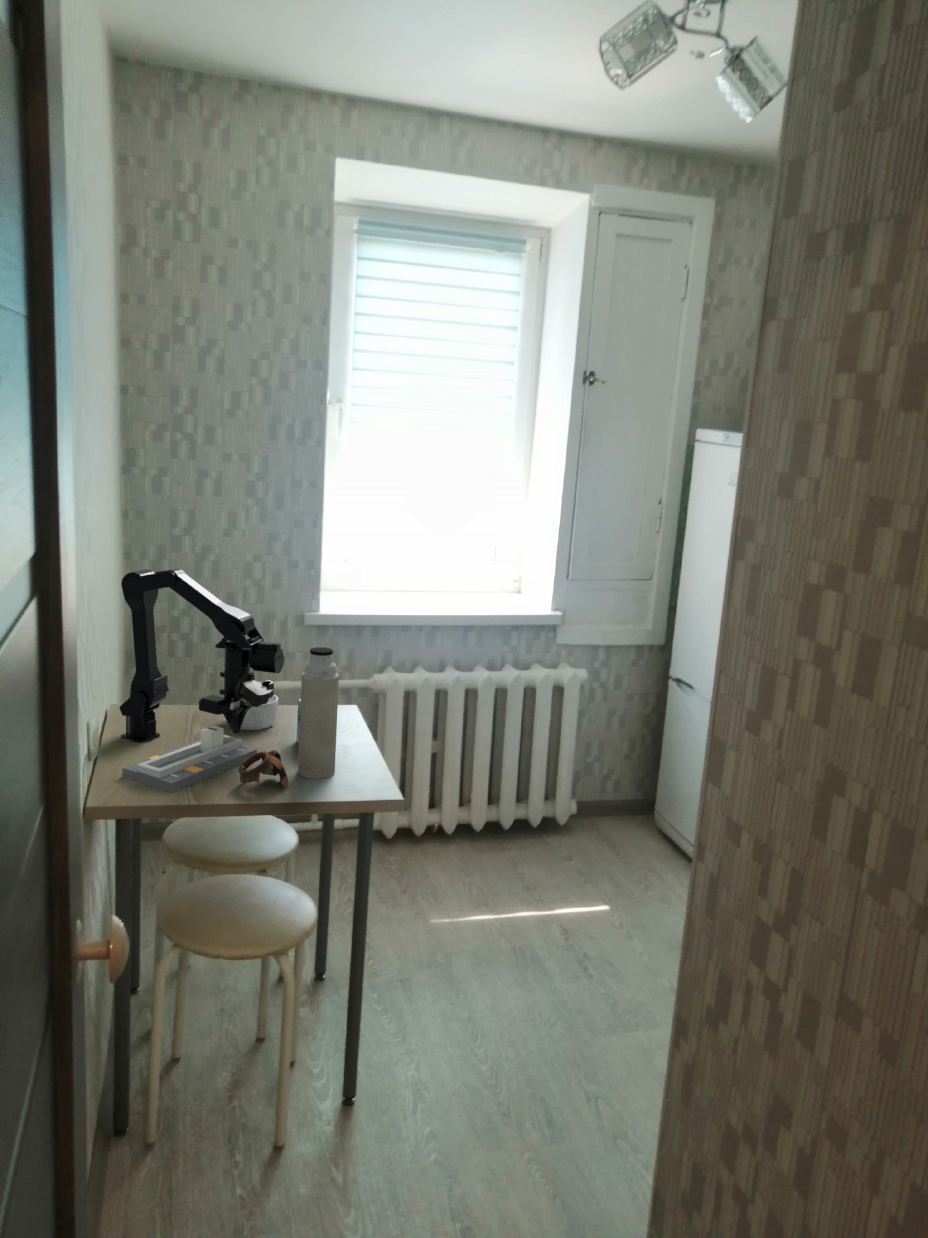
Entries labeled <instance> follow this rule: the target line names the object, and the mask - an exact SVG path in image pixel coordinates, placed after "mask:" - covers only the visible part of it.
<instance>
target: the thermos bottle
mask: <svg viewBox="0 0 928 1238" xmlns="http://www.w3.org/2000/svg"><path fill="white" fill-rule="evenodd" d="M309 653H310V655H309V661H307V662H306V663H305V664H304V671H303V672H302V673H301V684H300V685H301V686H300V688H301V689H300V690H301V694H300V699H301V707H300V734H299V743H298V763H297V764H298V766H297V769H298V770H297V772H298V774H299V775H300V776H301V777H304V778H307V779H315V780H316V779H326V778H329V777H332V776H334V774H335V772H336V754H337V753H336V749H337V732H338V731H337V729H338V728H337V726H338V708H339V707H338V706H339V704H338V703H339V684H340V681H339V680H340V674H339V673H337V669H338V667H337V664H336V663H335V662H333V654H334V649H332V648H329V647H325V646H324V647H323V646H322V647H321V646H319V647H318V646H317V647H311V648H310V649H309Z"/></svg>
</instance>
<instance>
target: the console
mask: <svg viewBox="0 0 928 1238" xmlns="http://www.w3.org/2000/svg"><path fill="white" fill-rule="evenodd" d="M200 740H201V739H199V740H196V741H193V742H191V743H188V744H185V745H183V746H180V747H177V748H174V749H171V750H169V751H165V752H163V753H159V754H157V755H153V756H150V757H148V758H147V759H146V758H145V759H144V760H140V761H137V762H135V763H132V764H129V765H126V766H123V767H122V768H121V771H122V772H121V775H122V778H125V779H127V780H131V781H134V782H137V783H140V784H144V785H147V786H150V787H153V788H157V789H159V790H163V791H166V792H169V793H174V792H177V791H179V790H181V789H184V788H186V787H189V786H191V785H194V784H196V783H198V782H201V781H203V780H206V779H209V778H211V777H213V776H216V775H218V774H221V773H223V772H225V771H228V770H230V769H232V768H235V767H237V766H239V765H243V764H242V763H243V762H244V761H245V760H246V759H248V758H249V757H250V756H252V755H254V754H256V753H258V749H257V748H253V747H251V746H250V747H249V746H247V745H244V740H243V739H241V738H237V737H234V736H229V735H226V734H223V745H221V746H218V747H216V748H213V749H210V750H208V751H205V752H201V751H200Z"/></svg>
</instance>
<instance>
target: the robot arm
mask: <svg viewBox="0 0 928 1238" xmlns="http://www.w3.org/2000/svg"><path fill="white" fill-rule="evenodd" d="M120 585H121V586H120V587H121V589H122V590H121V591H122V594H123V598H124V599H123V600H124V601H125V602H126V604H127V606H128V607H129V609H130V611H131V624H132V626H131V627H132V639H133V650H134V651H133V653H134V664H135V665H134V667H135V671H134V674H133V677H132V680H131V683H130V690H129V698H128V699H127V700H125V701H124V702H123V703H122V704H121V705H120V706H119V710H120V714H121V715H122V716H123V717H124V716H125V733H122V734H120V738H123V739H127V740H130V741H133V742H136V743H142V742H145V741H146V742H147V741H150V740H152V739H155V738H158V737H160V736H161V733H160V732H157V719H156V712H154V710H156V709H159V708H160V706H161V703H163V702H164V700H165V699H166V698H167V693H168V692H170V689H169V687H168V675H167V674H162V673H161V672H160V670H159V668H158V657H157V645H156V644H157V643H156V629H155V615H154V610H155V609H154V608H155V605H156V602H157V599H158V597H159V589H160V590H161V589H166V588H169V589H171V590H172V591H174V592H175V593H176V594H177V595H178V596H180V597H182V598H183V599H184V600H186V602H188V603H189V604H191V605H192V606H193V607H194V608H195V609H197V610H198V611H200V612H201V613H202V614H203V615H205V616H206V617H207V618H209V620H210V621H211V622H212V624H213V626H214V628H215V629H216V631H218V632H219V633H220V634H221V636H222V638H221V640H220V641H219V642H218V643H216V644H215V648H216V649H222V650H223V649H224V655H223V656H224V659H223V660H224V662H223V665H224V666H223V671H220V672H219V677H221V678H223V688H221V689H219V694H220V695H223V696H219V695H214V694H210V695H208V696H205V697H202V698H200V700H198V710H199V711H201V712H206V713H208V714H213V715H223V716H224V719H225V720H226V722H227V724H228V727H229V728H230V730H231V732H232V734H233V735H238V734H239V733H240V730H241V729H240V728H241V725H242V723H243V720H244V717H245V715H246V713H247V711H248V710H249V709H250V708H252V707H253V706H254V707H259V706H260V705H263V704H267V702H268V699H269V698H271V697H272V696H273V695H275V694H274V691H275V684H274V682H273V681H272V680H270V679H268V680H264V681H263V682H262V681H257V680H255V677H256V676H255V672H261V673H262V672H263V673H272V674H280V673H281V672H282V671H283V668H284V666H285V665H284V664H285V655H284V651H283V648H282V646H281V645H282V644H281V642H265V639H264V638H263V636H262V634H261V633H260V632H259V630H258V628H257V627H256V625H255V619H254V617H253V616H252V615H251V614H250V613H248V612H247V611H244V610H242V609H241V608H238V607H236V606H233V605H230V604H227V603H225V602H223V601H222V600H221V599H220V598H218V597H217V596H215V595H214V594H213V593H211V592H210V591H209V590H208V589H206V588H205V587H204V586H202V585H201V584H199V582H197V581H196V580H194V579H193V578H192V577H190V576H189V575H187V573H186V572H185V571H184V570H183V569H181V568H177V567H176V568H175V567H174V568H171V569H168V570H160V571H153V570H151V569H149V568H145V569H141V570H135V571H132V572H131V571H130V572H128V573H126V574H125V575H124V576H123V577H122V578H121V583H120ZM247 637H248V638H247ZM251 669H252V671H255V672H251Z"/></svg>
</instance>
